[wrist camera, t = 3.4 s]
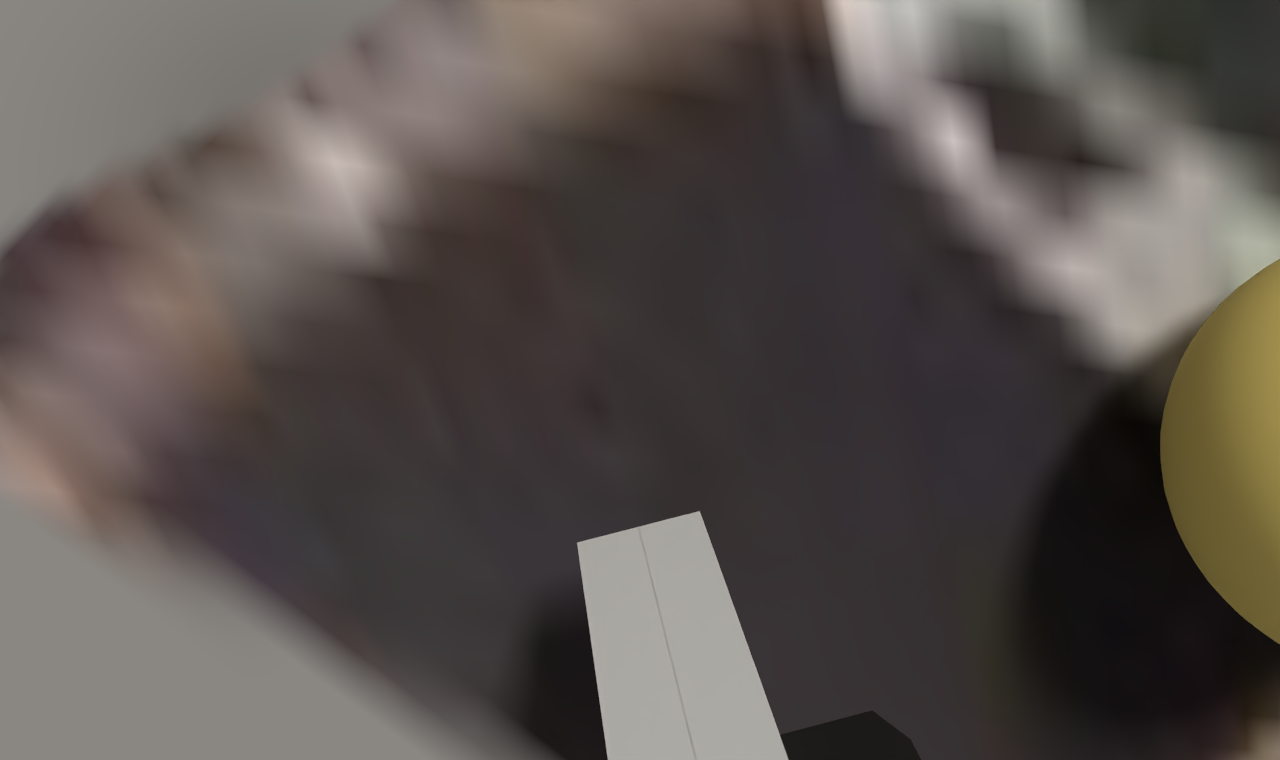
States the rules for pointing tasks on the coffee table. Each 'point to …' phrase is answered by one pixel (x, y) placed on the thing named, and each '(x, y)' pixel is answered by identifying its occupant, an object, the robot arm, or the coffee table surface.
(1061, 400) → the coffee table surface
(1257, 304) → the yellow ball
